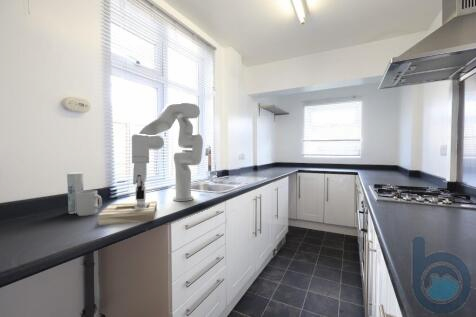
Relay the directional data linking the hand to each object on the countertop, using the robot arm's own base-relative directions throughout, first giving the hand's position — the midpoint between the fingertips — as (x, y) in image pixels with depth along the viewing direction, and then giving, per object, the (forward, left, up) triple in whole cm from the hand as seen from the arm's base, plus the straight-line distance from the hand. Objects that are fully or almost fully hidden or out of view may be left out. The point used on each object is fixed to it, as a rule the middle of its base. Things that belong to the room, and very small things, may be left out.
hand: (140, 197), depth 104 cm
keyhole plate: (0, -5, -9) cm, 10 cm away
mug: (-11, -25, -9) cm, 29 cm away
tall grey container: (-16, -33, -9) cm, 38 cm away
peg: (0, 0, -6) cm, 6 cm away
